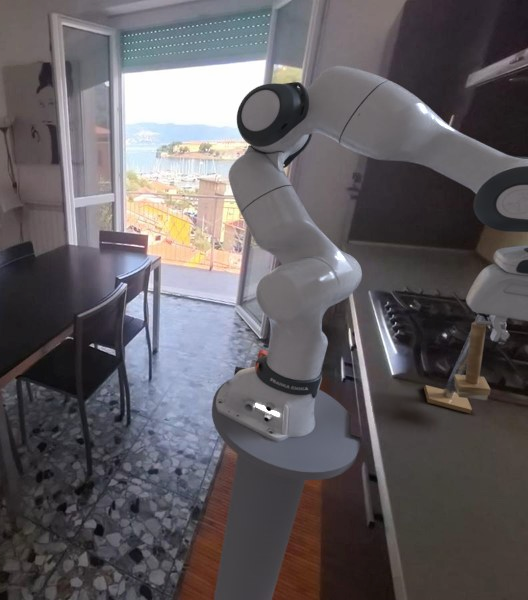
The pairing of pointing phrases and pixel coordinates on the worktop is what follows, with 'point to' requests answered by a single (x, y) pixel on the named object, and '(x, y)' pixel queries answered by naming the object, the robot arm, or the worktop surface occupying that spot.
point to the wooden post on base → (474, 365)
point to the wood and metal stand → (448, 394)
